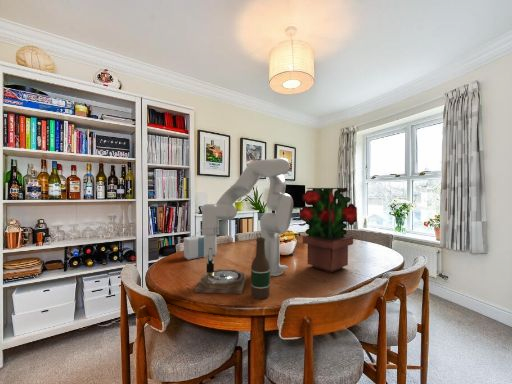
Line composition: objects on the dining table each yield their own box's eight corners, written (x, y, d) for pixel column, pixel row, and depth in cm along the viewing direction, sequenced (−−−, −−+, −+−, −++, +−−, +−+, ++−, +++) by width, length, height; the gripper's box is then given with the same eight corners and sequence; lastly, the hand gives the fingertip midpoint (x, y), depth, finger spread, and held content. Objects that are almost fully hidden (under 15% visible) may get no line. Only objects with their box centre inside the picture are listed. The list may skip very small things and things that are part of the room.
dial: (235, 273, 122) (235, 255, 122) (240, 284, 108) (241, 264, 108) (206, 276, 118) (206, 257, 118) (209, 287, 104) (209, 266, 104)
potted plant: (333, 278, 121) (334, 187, 120) (299, 266, 138) (299, 187, 137) (356, 268, 135) (356, 188, 134) (322, 259, 152) (323, 188, 152)
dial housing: (246, 276, 122) (246, 268, 122) (241, 293, 103) (241, 284, 102) (207, 275, 124) (207, 267, 124) (195, 292, 104) (195, 283, 104)
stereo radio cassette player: (187, 261, 149) (187, 228, 148) (182, 258, 155) (182, 226, 155) (217, 255, 162) (217, 225, 162) (211, 252, 168) (211, 223, 168)
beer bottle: (269, 291, 105) (269, 236, 105) (270, 299, 97) (270, 239, 97) (251, 291, 105) (251, 236, 104) (251, 299, 97) (251, 240, 97)
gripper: (202, 228, 118) (202, 266, 119) (201, 234, 102) (201, 278, 103) (218, 228, 120) (217, 265, 120) (219, 234, 104) (219, 277, 104)
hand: (210, 270), depth 111 cm, fingers open, 2 cm apart
